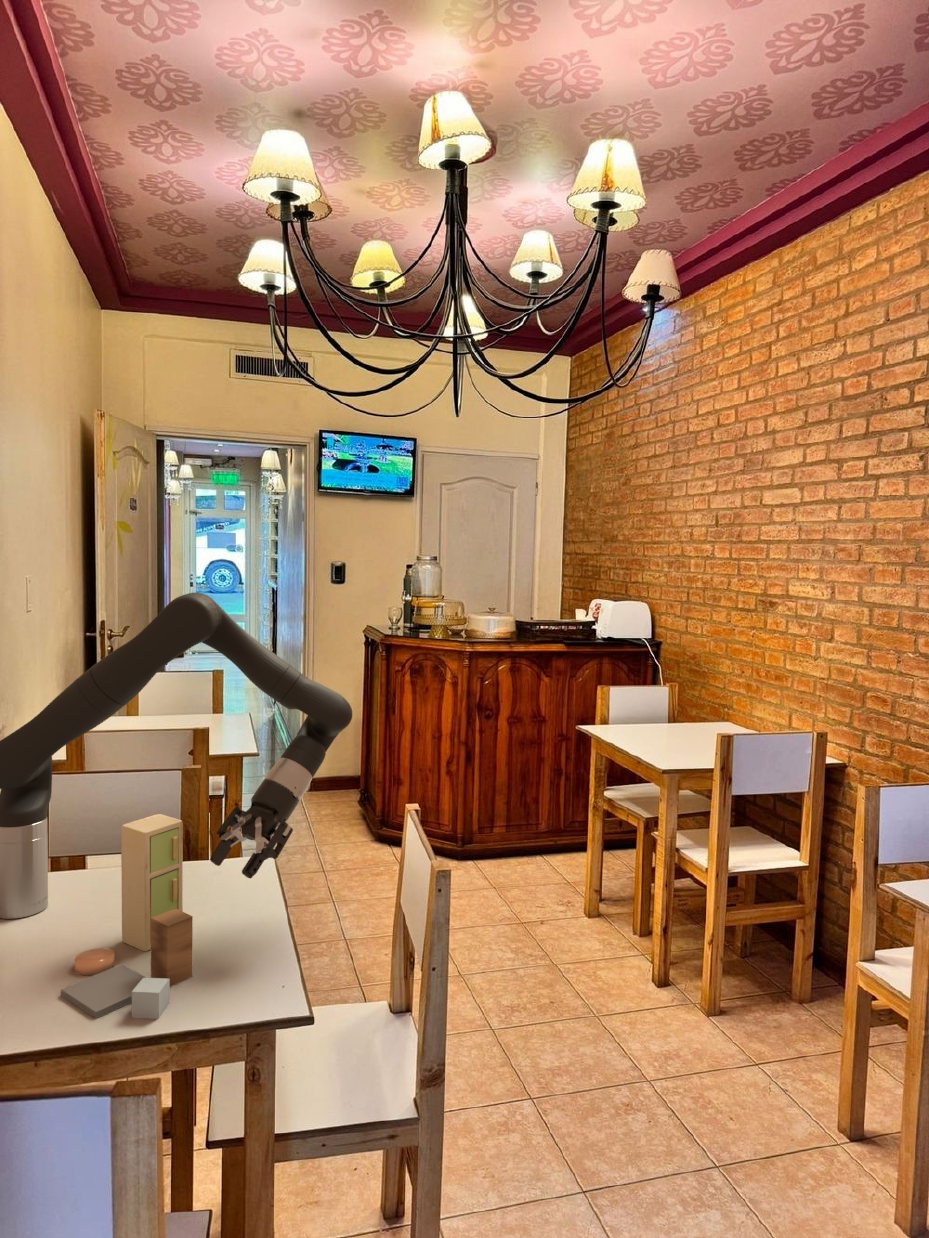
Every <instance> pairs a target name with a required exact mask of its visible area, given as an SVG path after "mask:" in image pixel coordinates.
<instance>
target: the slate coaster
mask: <svg viewBox="0 0 929 1238" xmlns="http://www.w3.org/2000/svg"><path fill="white" fill-rule="evenodd" d="M143 978H147V976H145V975H143V974H141V973H139V972H137V971H136V970H133V969H132V968H130V967H129V966H127V965H124V964H123V963H121V964H118V965H116V966H113V967H112V968H110V969H108V970H106V971H103V972H101V973H99V974H95V975H90V976H88V977H87V978H84V979H82V980H80V981H78V982H75V983H71V984H70V985H68V986H65V987H63V988H61V989H60V996H61V997H63V998H64V999H65V1000H67V1001H69V1002H70V1003H72V1004H73V1005H75V1006H77V1008H79V1009H81V1010H82V1011H84V1012H85V1013H87V1014H89V1015H90V1016H91V1017H93V1018H95V1019H99V1018H100V1017H103V1016H105V1015H107V1014H109V1013H112V1012H113V1011H115V1010H118V1009H121V1008H123V1007H125V1006H127V1005H129V1004H132V991H133V990H134V988H135V987H136V986H137V985H138V983H139V982H140V981H141V980H142V979H143Z"/></svg>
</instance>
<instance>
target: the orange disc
mask: <svg viewBox="0 0 929 1238" xmlns="http://www.w3.org/2000/svg"><path fill="white" fill-rule="evenodd" d="M73 960H74V961H73V962H74V964H73V966H74V968H73V971H74V972H75V973H76V974H78V975H81V976H94V975H96V974H99V973H101V972H103V971H106V970H108V969H111V968H113V967H114V965H115V952H114V950H112V949H109V948H106V947H105V948H104V947H102V948H99V947H98V948H93V949H88V950H85V951H83V952H81V953H79V954H77V955H76V956H75V957H74V959H73Z"/></svg>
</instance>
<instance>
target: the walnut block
mask: <svg viewBox="0 0 929 1238" xmlns="http://www.w3.org/2000/svg"><path fill="white" fill-rule="evenodd" d="M192 977H193V915H190V914H188V913H186V912H184V911H183V912H182V911H180V910H178V909H173V910H170V911H168V912H165V913H162V914H160V915H157V916H154V917H152V918H151V949H150V978H167V979H170V987H173V986H175V985H177V984H179V983H181V982H183V981H185V980H187V979H190V978H192Z"/></svg>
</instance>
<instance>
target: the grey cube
mask: <svg viewBox="0 0 929 1238" xmlns="http://www.w3.org/2000/svg"><path fill="white" fill-rule="evenodd" d="M170 997H171V995H170V979H167V978H151V977H146V978H143V979H142V980H141V981H140V982H139V983H138V985H137V986H136V987H135V988H134V990H133V991H132V1002H131V1018H132V1019H133V1018H134V1019H138V1018H139V1019H160V1018H161V1017H162V1016H163V1013H164V1012H165V1010H167V1008H168V1007H169V1005H170V1002H171V1001H170Z"/></svg>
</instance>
